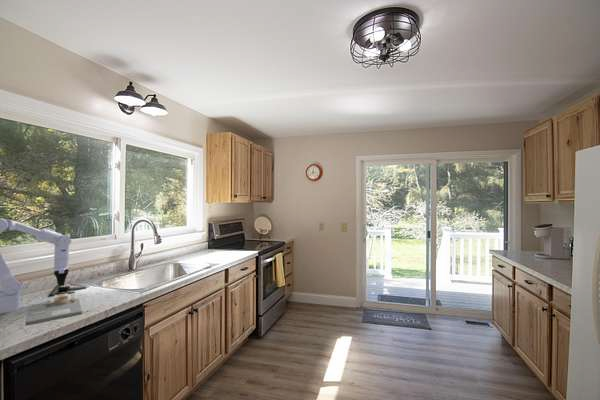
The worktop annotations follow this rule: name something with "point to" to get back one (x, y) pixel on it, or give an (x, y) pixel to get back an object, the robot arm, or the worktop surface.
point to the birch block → (60, 299)
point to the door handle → (64, 290)
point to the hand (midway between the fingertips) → (61, 284)
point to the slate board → (45, 310)
